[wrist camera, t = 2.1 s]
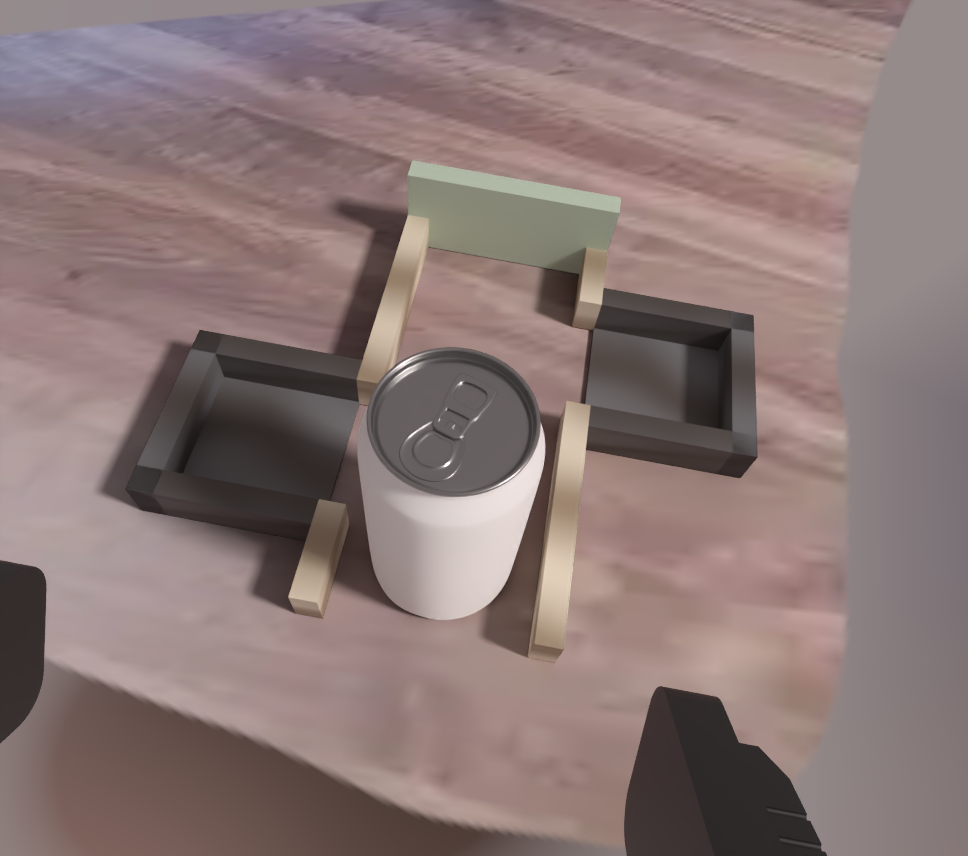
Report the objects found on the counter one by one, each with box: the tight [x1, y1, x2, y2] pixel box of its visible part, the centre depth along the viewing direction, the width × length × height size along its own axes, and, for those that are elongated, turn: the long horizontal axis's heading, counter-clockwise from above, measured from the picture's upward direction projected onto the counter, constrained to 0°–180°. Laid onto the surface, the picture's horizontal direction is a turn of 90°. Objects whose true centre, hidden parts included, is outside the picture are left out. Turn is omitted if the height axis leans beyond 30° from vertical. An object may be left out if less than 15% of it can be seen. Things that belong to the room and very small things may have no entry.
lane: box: [126, 215, 758, 663], centre depth 37 cm, size 24×28×2 cm
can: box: [357, 347, 545, 620], centre depth 29 cm, size 6×6×12 cm
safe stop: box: [408, 160, 621, 274], centre depth 42 cm, size 1×11×5 cm, turn 81°
